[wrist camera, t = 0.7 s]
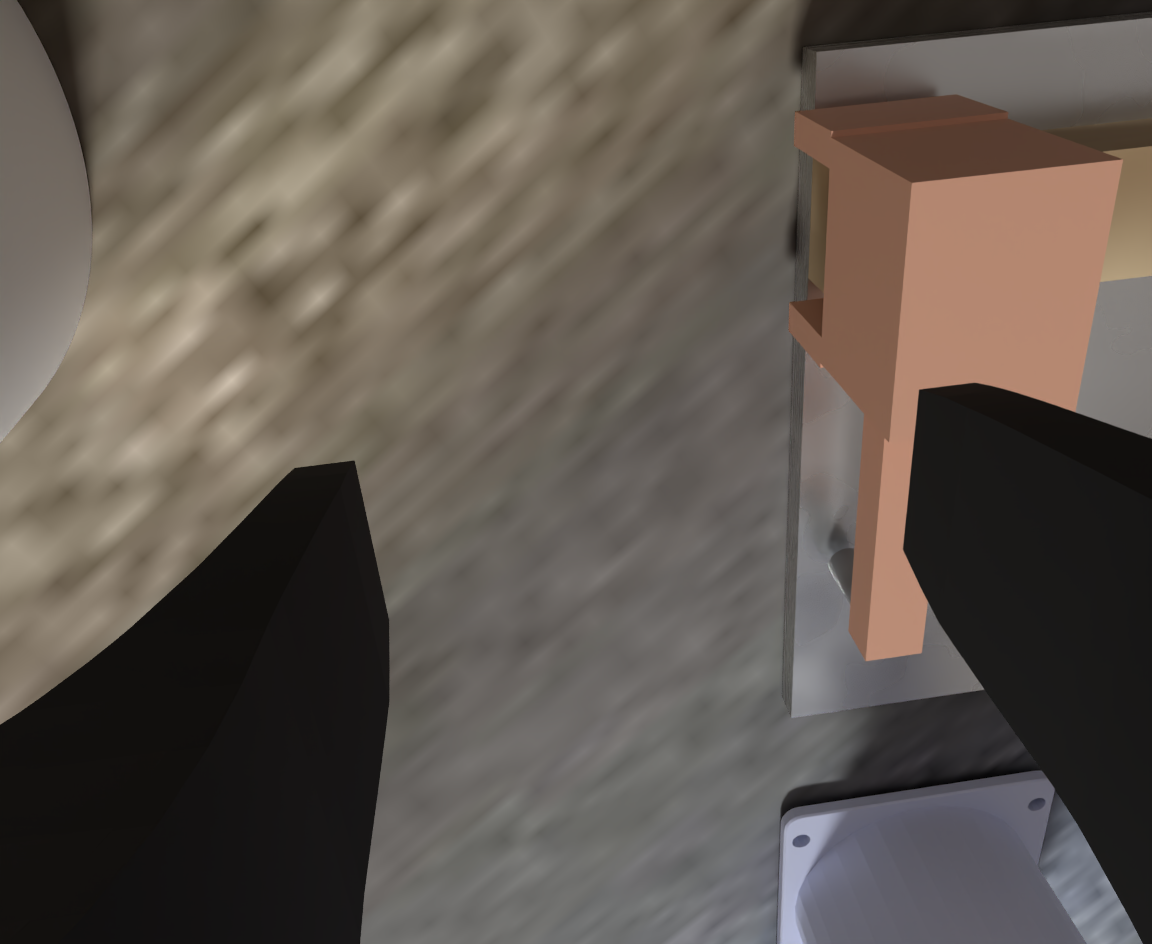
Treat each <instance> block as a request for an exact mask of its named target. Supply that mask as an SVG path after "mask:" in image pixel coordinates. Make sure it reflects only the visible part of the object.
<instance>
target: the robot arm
mask: <svg viewBox="0 0 1152 944" xmlns="http://www.w3.org/2000/svg"><path fill="white" fill-rule="evenodd" d="M903 551H904V553H905V555H906V557H907V560H908V562H909V564H910V566H911V568H912V570H913V572H914V574H915V577H916V579H917V581H918V583H919V585H920V587H921V589H922V591H923V593H924V595H925V597H926V599H927V601H928V603H929V605H930V607H931V609H932V611H933V613H934V614H935V616H936V618H937V620H938V622H939V624H940V625H941V627H942V628H943V630H944V631H945V633H946V634H947V636H948V637H949V639H950V640H951V642H952V643H953V645H954V646H955V648H956V649H957V651H958V652H959V653H960V655H961V656H962V658H963V659H964V661H965V662H966V664H967V665H968V666H969V668H970V669H971V671H972V672H973V674H974V675H975V677H976V678H977V679H978V681H979V682H980V684H981V685H982V687H983V688H984V689H985V691H986V692H987V694H988V695H989V696H990V698H991V699H992V701H993V702H994V703H995V705H996V706H997V708H998V709H999V711H1000V712H1001V713H1002V715H1003V716H1004V718H1005V719H1006V720H1007V722H1008V723H1009V725H1010V726H1011V728H1012V729H1013V730H1014V732H1015V733H1016V735H1017V736H1018V737H1019V739H1020V740H1021V742H1022V743H1023V744H1024V746H1025V747H1026V749H1027V750H1028V752H1029V753H1030V754H1031V756H1032V757H1033V759H1034V760H1035V761H1036V763H1037V764H1038V766H1039V767H1040V769H1041V770H1042V771H1029V772H1023V773H1016V774H1010V775H1003V776H996V777H990V778H983V779H977V780H970V781H964V782H957V783H951V784H944V785H938V786H931V787H925V788H918V789H912V790H905V791H899V792H892V793H886V794H879V795H872V796H866V797H859V798H853V799H846V800H840V801H833V802H827V803H820V804H814V805H807V806H801V807H796V808H793V809H791V810H789V811H787V812H786V813H785V815H784V816H783V817H782V820H781V834H780V863H779V893H778V922H777V944H1086V942H1085V941H1084V939H1083V937H1082V936H1081V934H1080V933H1079V931H1078V929H1077V928H1076V926H1075V925H1074V923H1073V922H1072V920H1071V918H1070V917H1069V915H1068V914H1067V912H1066V910H1065V909H1064V907H1063V906H1062V904H1061V903H1060V901H1059V899H1058V898H1057V896H1056V895H1055V893H1054V891H1053V890H1052V888H1051V887H1050V885H1049V884H1048V882H1047V880H1046V879H1045V877H1044V876H1043V874H1042V872H1041V871H1040V869H1039V868H1038V863H1039V858H1040V854H1041V849H1042V845H1043V840H1044V836H1045V831H1046V827H1047V823H1048V818H1049V814H1050V809H1051V805H1052V800H1053V796H1054V792H1055V790H1056V792H1057V793H1058V795H1059V796H1060V798H1061V799H1062V801H1063V802H1064V804H1065V806H1066V807H1067V809H1068V810H1069V812H1070V813H1071V815H1072V817H1073V818H1074V820H1075V821H1076V823H1077V824H1078V826H1079V828H1080V829H1081V831H1082V833H1083V835H1084V836H1085V838H1086V840H1087V842H1088V844H1089V845H1090V847H1091V849H1092V851H1093V853H1094V854H1095V856H1096V858H1097V860H1098V862H1099V863H1100V865H1101V867H1102V869H1103V871H1104V872H1105V874H1106V876H1107V878H1108V880H1109V881H1110V883H1111V885H1112V887H1113V889H1114V890H1115V892H1116V894H1117V896H1118V898H1119V899H1120V901H1121V903H1122V905H1123V907H1124V908H1125V910H1126V912H1127V914H1128V916H1129V918H1130V919H1131V921H1132V923H1133V925H1134V927H1135V929H1136V931H1137V933H1138V935H1139V937H1140V939H1141V941H1142V943H1143V944H1152V439H1151V438H1148V437H1145V436H1142V435H1139V434H1136V433H1134V432H1131V431H1128V430H1125V429H1122V428H1119V427H1116V426H1113V425H1111V424H1108V423H1105V422H1102V421H1099V420H1096V419H1093V418H1091V417H1088V416H1085V415H1082V414H1079V413H1076V412H1073V411H1070V410H1068V409H1065V408H1062V407H1059V406H1056V405H1053V404H1050V403H1047V402H1044V401H1041V400H1038V399H1035V398H1032V397H1029V396H1026V395H1023V394H1019V393H1016V392H1013V391H1009V390H1006V389H1002V388H998V387H994V386H990V385H985V384H980V383H967V384H959V385H951V386H943V387H935V388H927V389H919V395H918V405H917V415H916V425H915V434H914V444H913V454H912V464H911V474H910V484H909V494H908V503H907V513H906V523H905V533H904V543H903ZM388 707H389V618H388V613H387V609H386V604H385V599H384V595H383V590H382V586H381V581H380V576H379V572H378V567H377V562H376V558H375V553H374V549H373V544H372V539H371V535H370V530H369V525H368V521H367V516H366V512H365V507H364V502H363V498H362V493H361V488H360V484H359V479H358V475H357V470H356V465H355V461H347V462H339V463H331V464H324V465H316V466H308V467H300V468H294V469H293V470H292V471H291V472H290V473H289V474H288V475H286V476H285V477H284V478H283V479H282V480H281V481H280V482H279V483H278V484H277V485H276V486H275V487H274V489H273V490H272V491H271V492H270V493H269V494H268V495H267V496H266V497H265V498H264V499H263V500H262V501H261V502H260V503H259V504H258V505H257V506H256V507H255V508H254V510H253V511H252V512H251V513H250V514H249V515H248V516H247V517H246V518H245V519H244V520H243V521H242V522H241V523H240V524H239V525H238V526H237V527H236V528H235V529H234V530H233V531H232V532H231V533H230V534H229V535H228V536H227V537H226V538H225V539H224V540H223V541H222V542H221V544H220V545H219V546H218V547H217V548H216V549H215V550H214V551H213V552H212V553H211V554H210V555H209V556H208V557H207V558H206V559H205V560H204V561H203V562H202V563H201V564H200V565H199V566H198V567H197V568H196V569H195V570H194V571H192V572H191V573H190V574H189V575H188V576H187V577H186V578H185V579H184V580H183V581H181V582H180V583H179V584H178V585H177V586H176V587H175V588H174V589H173V590H172V591H170V592H169V593H168V594H167V595H166V596H165V597H164V598H163V599H162V600H161V601H159V602H158V603H157V604H156V605H155V606H154V607H153V608H152V609H151V610H150V611H148V612H147V613H146V614H145V615H144V616H143V617H142V618H141V619H140V620H139V621H137V622H136V623H135V624H134V625H133V626H132V627H131V628H130V629H129V630H127V631H126V632H125V633H124V634H123V635H121V636H120V637H119V638H118V639H117V640H115V641H114V642H113V643H112V644H111V645H109V646H108V647H107V648H105V649H104V650H103V651H102V652H100V653H99V654H98V655H97V656H95V657H94V658H93V659H92V660H90V661H89V662H88V663H87V664H85V665H84V666H83V667H81V668H80V669H79V670H77V671H76V672H74V673H73V674H72V675H70V676H69V677H68V678H66V679H65V680H64V681H62V682H61V683H60V684H58V685H57V686H56V687H54V688H53V689H52V690H50V691H49V692H48V693H46V694H45V695H44V696H42V697H41V698H39V699H38V700H37V701H35V702H34V703H32V704H31V705H29V706H28V707H27V708H25V709H24V710H22V711H21V712H19V713H18V714H16V715H15V716H13V717H12V718H10V719H9V720H7V721H5V722H4V723H2V724H1V725H0V944H360V936H361V925H362V913H363V902H364V891H365V884H366V876H367V869H368V861H369V854H370V846H371V839H372V831H373V824H374V816H375V809H376V801H377V794H378V786H379V779H380V771H381V763H382V756H383V748H384V740H385V732H386V724H387V716H388Z"/></svg>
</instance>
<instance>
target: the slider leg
mask: <svg viewBox="0 0 1152 944" xmlns="http://www.w3.org/2000/svg"><path fill="white" fill-rule="evenodd" d="M794 146H795V147H797V148H798V149H800V150H801V151H803V152H805V153H806V154H808V155H809V156H811V157H812V158H814V159H815V160H817V161H818V162H820V163H822V164H823V165H825V166H826V167H828V168H829V169H830V170H829V192H828V213H827V234H826V256H825V277H824V298H820V299H812V300H803V301H795V302H789V332H790V333H791V334H792V335H793V336H794V338H795V339H796V340H797V341H798V342H799V343H800V345H801V346H802V347H803V348H804V349H805V351H806V352H807V353H808V354H809V355H810V356H811V358H812V359H813V360H814V361H815V362H816V364H817V365H818V366H819V367H820V368H825V369H826V370H827V371H828V372H829V373H830V375H831V376H832V377H833V378H834V379H835V380H836V382H837V383H838V384H839V385H840V386H841V388H842V389H843V390H844V391H845V392H846V393H847V395H848V396H849V397H850V398H851V399H852V400H853V402H854V403H855V404H856V405H857V406H858V407H859V409H860V410H861V411H862V412H863V413H864V422H863V436H862V450H861V463H860V477H859V491H858V505H857V519H856V533H855V546H854V549H853V548H845V549H841V550H839V551H837V552H836V553H835V554H834V555H833V556H832V557H831V558H830V560H829V563H828V568H829V571H830V572H831V574H832V576H833V577H834V579H835V581H836V582H837V584H838V586H839V587H840V589H841V591H842V592H843V594H844V596H845V597H846V599H847V601H848V602H849V604H850V615H849V629H848V631H849V633H850V635H851V637H852V638H853V640H854V642H855V644H856V645H857V647H858V649H859V651H860V652H861V654H862V656H863V658H864V659H865V661H871V660H878V659H885V658H892V657H899V656H906V655H913V654H920V653H922V647H923V639H924V630H925V622H926V614H927V605H928V601H927V599H926V597H925V595H924V593H923V591H922V589H921V587H920V585H919V583H918V581H917V579H916V577H915V574H914V572H913V570H912V568H911V566H910V564H909V562H908V560H907V557H906V555H905V553H904V551H903V543H904V533H905V523H906V513H907V503H908V494H909V484H910V474H911V464H912V454H913V444H914V434H915V425H916V415H917V405H918V395H919V389H927V388H935V387H943V386H951V385H959V384H967V383H980V384H985V385H990V386H994V387H998V388H1002V389H1006V390H1009V391H1013V392H1016V393H1019V394H1023V395H1026V396H1029V397H1032V398H1035V399H1038V400H1041V401H1044V402H1047V403H1050V404H1053V405H1056V406H1059V407H1062V408H1065V409H1068V410H1070V411H1073V412H1076V406H1077V401H1078V396H1079V390H1080V385H1081V380H1082V375H1083V369H1084V364H1085V359H1086V354H1087V348H1088V343H1089V338H1090V332H1091V327H1092V322H1093V317H1094V311H1095V306H1096V301H1097V295H1098V290H1099V285H1100V280H1101V274H1102V269H1103V264H1104V258H1105V253H1106V248H1107V243H1108V237H1109V232H1110V227H1111V222H1112V216H1113V211H1114V206H1115V200H1116V195H1117V190H1118V185H1119V179H1120V174H1121V169H1122V163H1123V159H1121V158H1118V157H1115V156H1112V155H1109V154H1107V153H1104V152H1101V151H1098V150H1095V149H1093V148H1090V147H1087V146H1084V145H1081V144H1078V143H1076V142H1073V141H1070V140H1067V139H1064V138H1061V137H1059V136H1056V135H1053V134H1050V133H1047V132H1045V131H1042V130H1039V129H1036V128H1033V127H1030V126H1028V125H1025V124H1022V123H1019V122H1016V121H1014V120H1011V119H1008V112H1007V111H1004V110H1001V109H998V108H995V107H992V106H989V105H986V104H983V103H980V102H978V101H975V100H972V99H969V98H966V97H963V96H960V95H957V94H954V95H945V96H935V97H926V98H916V99H907V100H898V101H888V102H879V103H869V104H860V105H850V106H841V107H832V108H822V109H813V110H803V111H795V130H794Z"/></svg>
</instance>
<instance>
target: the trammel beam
mask: <svg viewBox="0 0 1152 944" xmlns="http://www.w3.org/2000/svg"><path fill="white" fill-rule="evenodd" d="M1042 131H1045V132H1047V133H1050V134H1053V135H1056V136H1059V137H1061V138H1064V139H1067V140H1070V141H1073V142H1076V143H1078V144H1081V145H1084V146H1087V147H1090V148H1093V149H1095V150H1098V151H1101V152H1104V153H1107V154H1109V155H1112V156H1115V157H1118V158H1121V159H1123V163H1122V169H1121V174H1120V179H1119V185H1118V190H1117V195H1116V200H1115V206H1114V211H1113V216H1112V222H1111V227H1110V232H1109V237H1108V243H1107V248H1106V253H1105V258H1104V264H1103V269H1102V274H1101V280H1100V282H1105V281H1113V280H1121V279H1130V278H1138V277H1146V276H1152V118H1149V119H1140V120H1131V121H1121V122H1112V123H1103V124H1094V125H1085V126H1076V127H1066V128H1057V129H1048V130H1042ZM829 170H830V169H829V168H828V167H826V166H825V165H823V164H822V163H820V162H818V161H817V160H815V159H814V158H813V167H812V193H811V219H810V245H809V271H808V278H809V279H810V280H811V281H812V282H813V283H814V284H815V285H816V286H817V287H818V288H819V289H820V290H821V291H822V292H823V293H824V277H825V256H826V234H827V213H828V192H829Z"/></svg>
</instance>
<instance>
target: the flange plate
mask: <svg viewBox="0 0 1152 944" xmlns="http://www.w3.org/2000/svg"><path fill="white" fill-rule="evenodd" d="M954 94H957V95H960V96H963V97H966V98H969V99H972V100H975V101H978V102H980V103H983V104H986V105H989V106H992V107H995V108H998V109H1001V110H1004V111H1007V112H1008V119H1011V120H1014V121H1016V122H1019V123H1022V124H1025V125H1028V126H1030V127H1033V128H1036V129H1039V130H1048V129H1057V128H1066V127H1076V126H1085V125H1094V124H1103V123H1112V122H1121V121H1131V120H1140V119H1149V118H1152V11H1151V12H1142V13H1132V14H1122V15H1112V16H1102V17H1092V18H1083V19H1073V20H1063V21H1053V22H1043V23H1033V24H1024V25H1014V26H1004V27H994V28H984V29H974V30H965V31H955V32H945V33H935V34H925V35H915V36H905V37H896V38H886V39H876V40H866V41H856V42H846V43H837V44H827V45H817V46H807V47H803V53H802V85H801V111H803V110H813V109H822V108H832V107H841V106H850V105H860V104H869V103H879V102H888V101H898V100H907V99H916V98H926V97H935V96H945V95H954ZM812 167H813V158H812V157H811V156H809V155H808V154H806V153H805V152H803V151H801V150H800V149H799V179H798V211H797V242H796V274H795V301H803V300H812V299H820V298H824V293H823V292H822V291H821V290H820V289H819V288H818V287H817V286H816V285H815V284H814V283H813V282H812V281H811V280H810V279H809V278H808V271H809V245H810V219H811V193H812ZM1076 413H1079V414H1082V415H1085V416H1088V417H1091V418H1093V419H1096V420H1099V421H1102V422H1105V423H1108V424H1111V425H1113V426H1116V427H1119V428H1122V429H1125V430H1128V431H1131V432H1134V433H1136V434H1139V435H1142V436H1145V437H1148V438H1151V439H1152V276H1146V277H1138V278H1130V279H1121V280H1113V281H1105V282H1100V285H1099V290H1098V295H1097V301H1096V306H1095V311H1094V317H1093V322H1092V327H1091V332H1090V338H1089V343H1088V348H1087V354H1086V359H1085V364H1084V369H1083V375H1082V380H1081V385H1080V390H1079V396H1078V401H1077V406H1076ZM863 422H864V413H863V412H862V411H861V410H860V409H859V407H858V406H857V405H856V404H855V403H854V402H853V400H852V399H851V398H850V397H849V396H848V395H847V393H846V392H845V391H844V390H843V389H842V388H841V386H840V385H839V384H838V383H837V382H836V380H835V379H834V378H833V377H832V376H831V375H830V373H829V372H828V371H827V370H826V369H825V368H820V367H819V366H818V365H817V364H816V362H815V361H814V360H813V359H812V358H811V356H810V355H809V354H808V353H807V352H806V351H805V349H804V348H803V347H802V346H801V345H800V343H799V342H798V341H797V340H796V339H795V338H794V337H793V368H792V400H791V431H790V462H789V494H788V525H787V557H786V588H785V620H784V651H783V683H782V698H783V700H784V703H785V705H786V707H787V709H788V712H789V714H790V716H791V718H795V717H802V716H809V715H816V714H822V713H829V712H836V711H843V710H850V709H856V708H863V707H870V706H877V705H884V704H890V703H897V702H904V701H911V700H918V699H924V698H931V697H938V696H945V695H952V694H958V693H965V692H972V691H979V690H985V689H984V688H983V687H982V685H981V684H980V682H979V681H978V679H977V678H976V677H975V675H974V674H973V672H972V671H971V669H970V668H969V666H968V665H967V664H966V662H965V661H964V659H963V658H962V656H961V655H960V653H959V652H958V651H957V649H956V648H955V646H954V645H953V643H952V642H951V640H950V639H949V637H948V636H947V634H946V633H945V631H944V630H943V628H942V627H941V625H940V624H939V622H938V620H937V618H936V616H935V614H934V613H933V611H932V609H931V607H930V605H929V603H928V605H927V614H926V622H925V630H924V639H923V647H922V653H920V654H913V655H906V656H899V657H892V658H885V659H878V660H871V661H865V659H864V658H863V656H862V654H861V652H860V651H859V649H858V647H857V645H856V644H855V642H854V640H853V638H852V637H851V635H850V633H849V631H848V629H849V615H850V604H849V602H848V601H847V599H846V597H845V596H844V594H843V592H842V591H841V589H840V587H839V586H838V584H837V582H836V581H835V579H834V577H833V576H832V574H831V572H830V571H829V568H828V563H829V560H830V558H831V557H832V556H833V555H834V554H835V553H836V552H837V551H839V550H841V549H845V548H853V549H854V546H855V533H856V519H857V505H858V491H859V477H860V463H861V450H862V436H863Z"/></svg>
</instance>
